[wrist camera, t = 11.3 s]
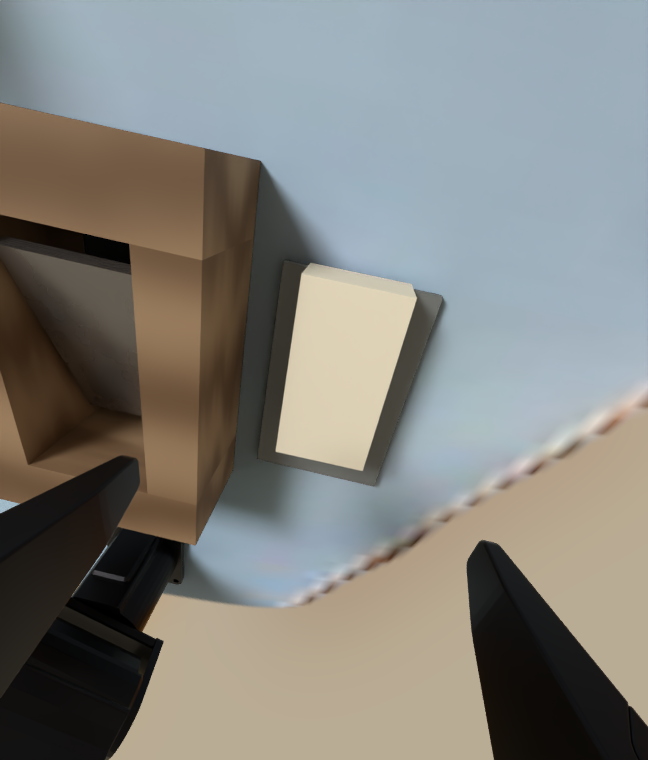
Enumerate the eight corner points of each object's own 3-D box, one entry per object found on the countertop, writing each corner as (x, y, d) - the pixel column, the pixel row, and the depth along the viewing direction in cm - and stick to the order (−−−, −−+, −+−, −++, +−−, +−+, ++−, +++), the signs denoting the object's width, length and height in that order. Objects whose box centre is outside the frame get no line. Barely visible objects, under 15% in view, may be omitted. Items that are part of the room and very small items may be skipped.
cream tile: (363, 443, 22) (362, 471, 20) (285, 425, 22) (275, 451, 20) (411, 284, 17) (416, 298, 15) (310, 262, 17) (301, 273, 15)
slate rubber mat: (374, 481, 24) (374, 486, 24) (259, 454, 24) (257, 459, 24) (441, 295, 18) (443, 297, 17) (285, 259, 18) (283, 261, 18)
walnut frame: (233, 469, 25) (195, 545, 20) (74, 432, 25) (-5, 497, 20) (260, 160, 16) (204, 148, 11) (11, 105, 16) (-166, 65, 11)
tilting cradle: (184, 417, 22) (179, 425, 22) (96, 396, 22) (90, 404, 22) (140, 266, 14) (132, 275, 14) (3, 235, 14) (-10, 242, 14)
